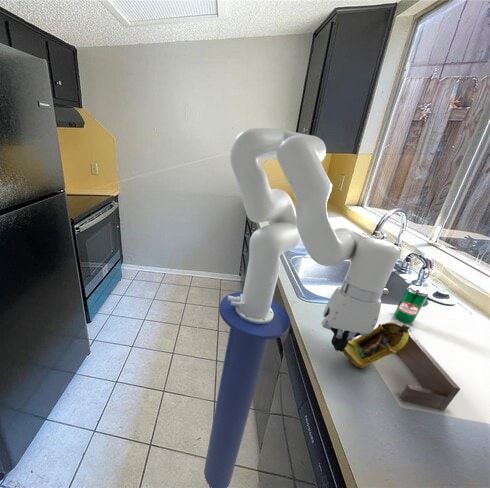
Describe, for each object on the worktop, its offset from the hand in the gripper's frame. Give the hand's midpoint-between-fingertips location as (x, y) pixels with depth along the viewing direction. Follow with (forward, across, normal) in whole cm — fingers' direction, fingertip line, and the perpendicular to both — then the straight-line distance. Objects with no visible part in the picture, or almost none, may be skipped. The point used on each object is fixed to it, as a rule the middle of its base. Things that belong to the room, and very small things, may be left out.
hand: (337, 347), depth 69 cm
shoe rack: (+3, -15, 0) cm, 15 cm away
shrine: (+4, -7, 0) cm, 8 cm away
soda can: (+4, -28, -25) cm, 38 cm away
